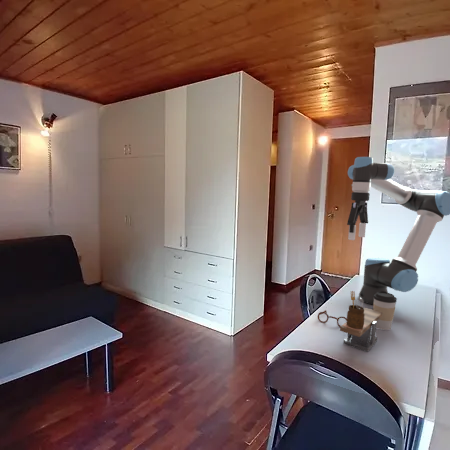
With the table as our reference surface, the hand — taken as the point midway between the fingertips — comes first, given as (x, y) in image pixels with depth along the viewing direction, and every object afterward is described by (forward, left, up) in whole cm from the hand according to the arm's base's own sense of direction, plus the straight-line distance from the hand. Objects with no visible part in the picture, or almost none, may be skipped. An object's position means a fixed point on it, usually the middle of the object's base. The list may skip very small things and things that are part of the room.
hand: (356, 238), depth 150 cm
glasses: (+11, -2, -37) cm, 39 cm away
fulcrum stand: (+25, +13, -37) cm, 46 cm away
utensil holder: (+34, +13, -27) cm, 46 cm away
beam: (+25, +13, -29) cm, 40 cm away
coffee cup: (+3, +15, -37) cm, 40 cm away
